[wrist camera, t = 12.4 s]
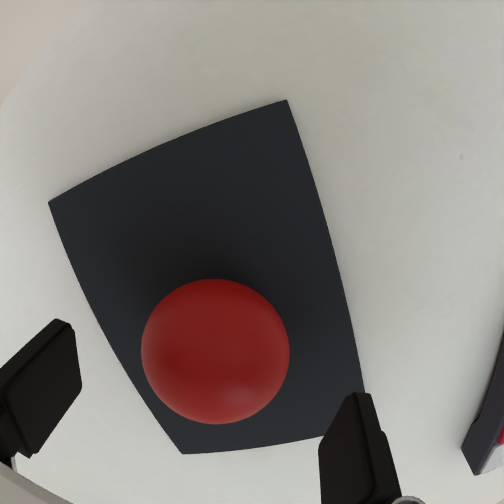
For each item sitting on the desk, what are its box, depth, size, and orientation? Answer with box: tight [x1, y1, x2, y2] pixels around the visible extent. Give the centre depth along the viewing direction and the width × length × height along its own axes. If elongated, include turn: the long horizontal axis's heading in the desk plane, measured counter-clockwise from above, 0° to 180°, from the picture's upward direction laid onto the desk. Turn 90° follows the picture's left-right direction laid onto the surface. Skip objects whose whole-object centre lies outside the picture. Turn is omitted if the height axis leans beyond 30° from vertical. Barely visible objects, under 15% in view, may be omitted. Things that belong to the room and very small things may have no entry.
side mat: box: [48, 100, 365, 454], centre depth 17 cm, size 20×14×1 cm
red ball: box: [141, 279, 290, 424], centre depth 13 cm, size 6×6×6 cm
